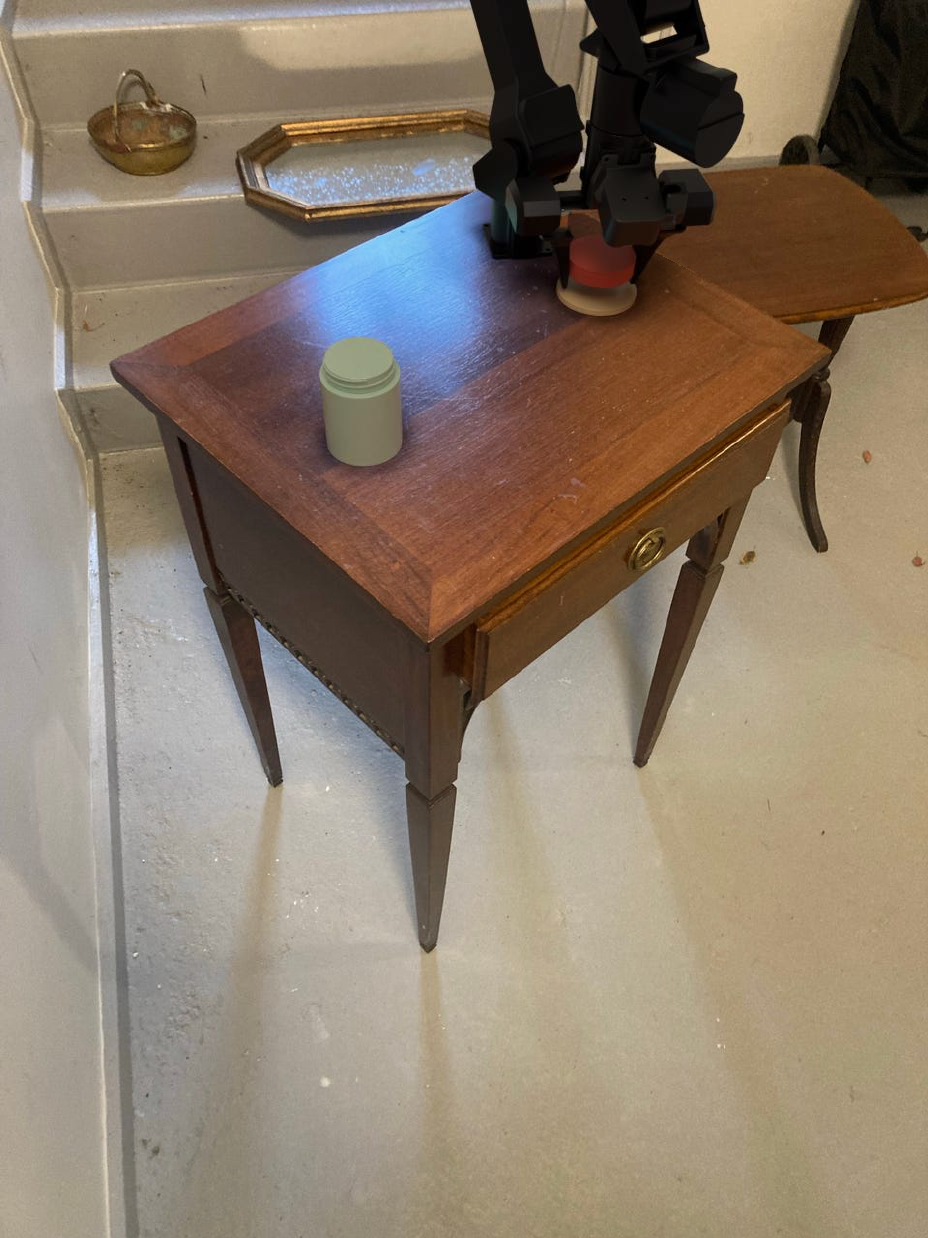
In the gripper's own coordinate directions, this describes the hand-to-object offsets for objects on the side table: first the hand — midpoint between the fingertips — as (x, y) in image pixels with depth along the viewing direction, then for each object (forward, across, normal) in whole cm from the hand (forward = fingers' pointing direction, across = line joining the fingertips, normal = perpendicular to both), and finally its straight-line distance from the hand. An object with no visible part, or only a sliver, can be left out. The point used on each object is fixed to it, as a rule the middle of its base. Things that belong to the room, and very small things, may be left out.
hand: (597, 284), depth 93 cm
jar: (+1, -25, -19) cm, 32 cm away
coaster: (+1, 0, 0) cm, 1 cm away
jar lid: (-3, 0, 0) cm, 3 cm away
